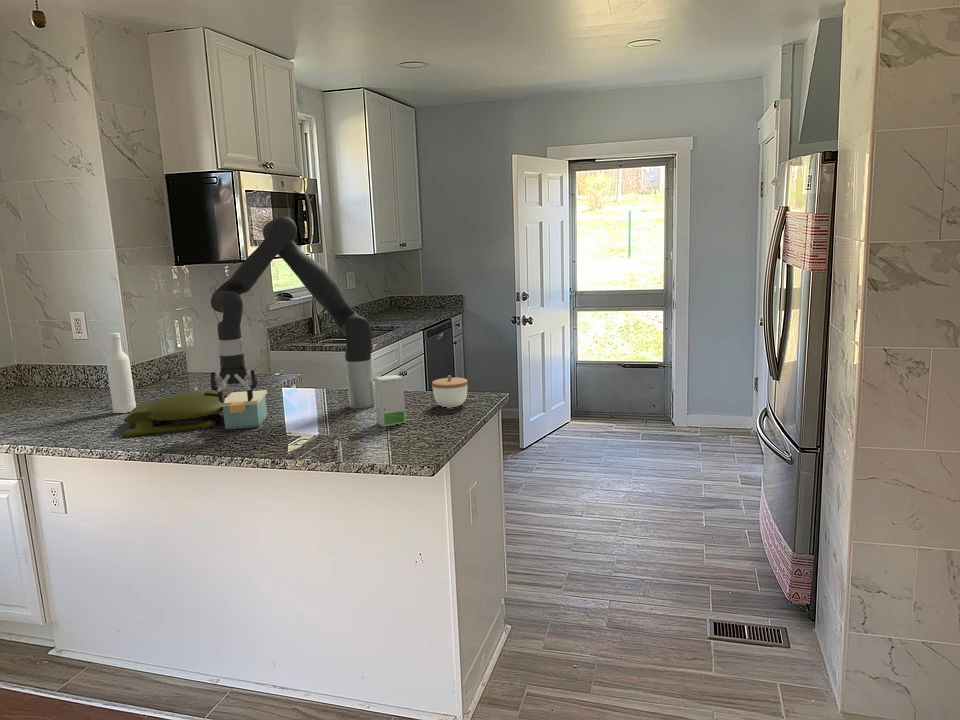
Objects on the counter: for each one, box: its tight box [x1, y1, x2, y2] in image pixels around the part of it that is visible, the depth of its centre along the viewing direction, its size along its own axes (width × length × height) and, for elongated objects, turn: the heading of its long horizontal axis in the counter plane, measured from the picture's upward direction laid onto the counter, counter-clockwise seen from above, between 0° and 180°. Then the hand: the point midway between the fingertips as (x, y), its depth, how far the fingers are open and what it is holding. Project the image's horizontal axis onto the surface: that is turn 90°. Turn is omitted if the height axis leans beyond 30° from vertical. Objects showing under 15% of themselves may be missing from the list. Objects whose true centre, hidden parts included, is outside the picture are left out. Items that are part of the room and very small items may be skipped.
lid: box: [220, 389, 268, 413], centre depth 242 cm, size 12×22×2 cm, turn 6°
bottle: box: [106, 332, 137, 414], centre depth 269 cm, size 8×8×30 cm
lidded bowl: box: [431, 374, 469, 409], centre depth 254 cm, size 13×13×11 cm
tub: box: [222, 395, 268, 430], centre depth 245 cm, size 11×15×8 cm
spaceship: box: [121, 391, 228, 438], centre depth 251 cm, size 35×31×10 cm
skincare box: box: [373, 374, 407, 427], centre depth 234 cm, size 8×7×16 cm
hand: (236, 401), depth 233 cm, fingers open, 8 cm apart
